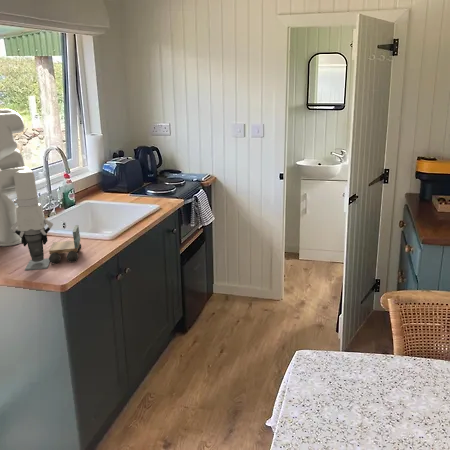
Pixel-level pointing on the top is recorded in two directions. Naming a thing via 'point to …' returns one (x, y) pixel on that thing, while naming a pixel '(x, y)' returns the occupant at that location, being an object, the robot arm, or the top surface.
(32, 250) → the beverage cup
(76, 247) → the trolley
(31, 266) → the mat
